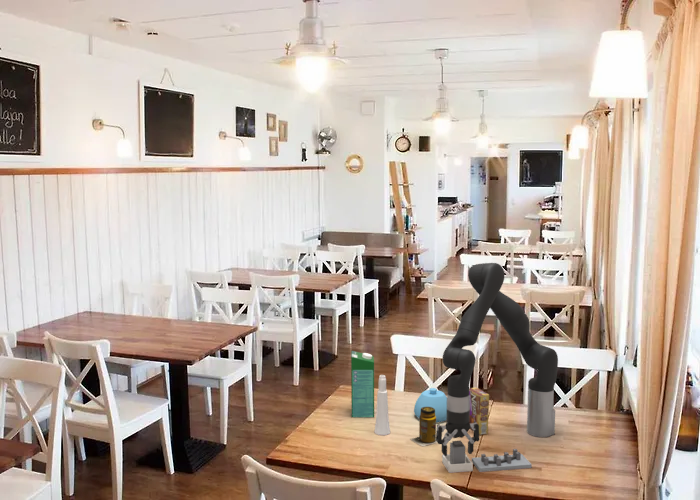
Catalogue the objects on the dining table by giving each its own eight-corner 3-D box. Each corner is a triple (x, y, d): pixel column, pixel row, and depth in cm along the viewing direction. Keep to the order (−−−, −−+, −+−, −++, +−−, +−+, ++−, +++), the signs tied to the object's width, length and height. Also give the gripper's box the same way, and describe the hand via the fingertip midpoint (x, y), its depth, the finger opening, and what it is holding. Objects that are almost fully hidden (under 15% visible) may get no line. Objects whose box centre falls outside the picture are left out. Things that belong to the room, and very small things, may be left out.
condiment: (440, 441, 244) (441, 409, 242) (422, 447, 239) (423, 414, 237) (427, 434, 250) (428, 403, 248) (410, 440, 245) (410, 408, 243)
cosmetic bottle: (374, 429, 255) (374, 373, 252) (390, 429, 255) (390, 373, 252) (374, 435, 249) (374, 378, 246) (390, 435, 249) (390, 378, 246)
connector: (461, 461, 226) (461, 439, 225) (465, 466, 222) (465, 444, 221) (449, 462, 225) (450, 440, 224) (453, 467, 221) (453, 445, 220)
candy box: (489, 433, 250) (489, 394, 248) (478, 435, 249) (479, 395, 247) (476, 425, 258) (477, 387, 256) (466, 426, 257) (467, 388, 255)
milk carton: (374, 417, 266) (374, 356, 263) (351, 417, 267) (351, 356, 263) (373, 409, 275) (373, 350, 272) (351, 409, 276) (351, 350, 272)
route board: (521, 457, 230) (522, 447, 229) (531, 467, 222) (531, 457, 222) (471, 461, 227) (471, 451, 227) (479, 471, 219) (479, 461, 219)
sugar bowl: (425, 407, 278) (426, 380, 276) (458, 415, 269) (458, 387, 267) (407, 418, 266) (407, 390, 264) (440, 427, 257) (440, 398, 255)
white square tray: (464, 460, 228) (465, 453, 228) (472, 470, 220) (472, 463, 220) (442, 462, 227) (442, 454, 226) (449, 472, 219) (449, 465, 219)
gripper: (475, 402, 225) (474, 448, 228) (434, 404, 223) (433, 450, 225) (482, 410, 218) (481, 457, 220) (440, 412, 216) (439, 460, 218)
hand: (457, 454), depth 223 cm, fingers open, 8 cm apart
